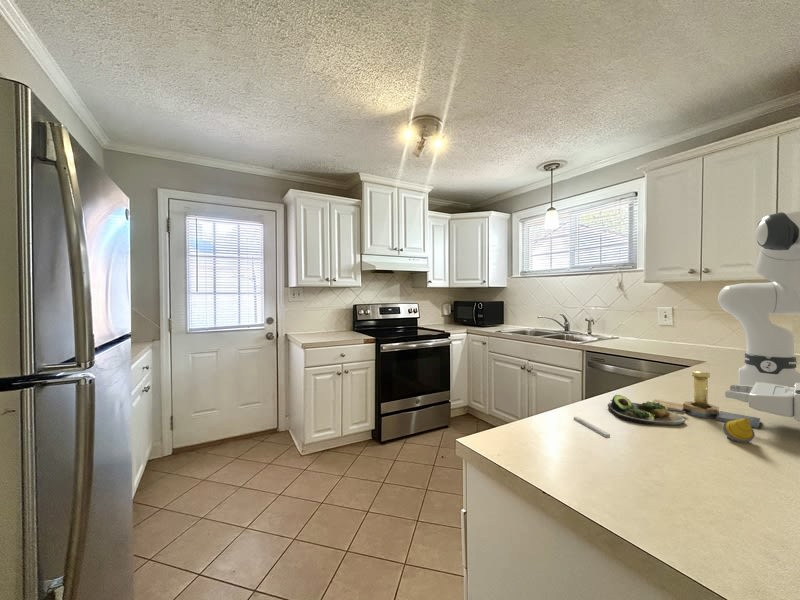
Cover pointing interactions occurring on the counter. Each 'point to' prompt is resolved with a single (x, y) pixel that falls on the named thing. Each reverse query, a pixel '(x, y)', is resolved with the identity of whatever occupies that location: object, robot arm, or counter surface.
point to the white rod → (592, 427)
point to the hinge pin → (701, 388)
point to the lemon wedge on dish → (739, 430)
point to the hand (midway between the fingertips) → (728, 390)
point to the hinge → (708, 412)
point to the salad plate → (644, 412)
